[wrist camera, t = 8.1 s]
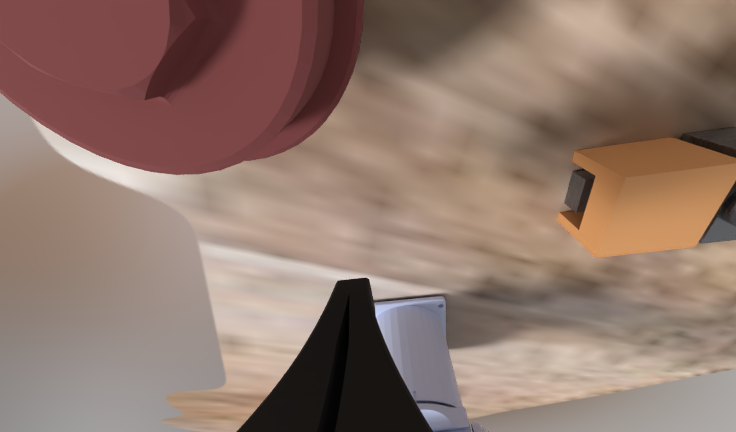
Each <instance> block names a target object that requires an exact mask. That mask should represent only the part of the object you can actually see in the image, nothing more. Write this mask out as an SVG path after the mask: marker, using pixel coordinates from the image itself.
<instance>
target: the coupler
mask: <svg viewBox="0 0 736 432" xmlns="http://www.w3.org/2000/svg"><path fill="white" fill-rule="evenodd" d="M681 140H682V141H685V142H688V143H691V144H694V145H697V146H700V147H703V148H706V149H710V150H713V151H716V152H719V153H722V154H725V155H728V156H731V157H734V158H736V127H729V128H722V129H715V130H708V131H700V132H693V133H686V134H683V137H682V139H681ZM595 177H596V176H595V175H593V174H592V173H590V172H588V171H587V170H580V171H573V172H572V176H571V180H570V184H569V188H568V191H567V195H566V199H565V204H566V205H567V206H569V207H570V208H571V209H572V210H573V211H574V212H576V213H579V212H585V209H586V206H587V203H588V199H589V196H590V193H591V190H592V187H593V183H594V180H595ZM730 240H736V181H735V183H734V184H733V186H732V188H731V189H730V191H729V193H728V194H727V196H726V197H725V199H724V201H723V202H722V204H721V206H720V207H719V209H718V211H717V212H716V214H715V215H714V217H713V219H712V220H711V222H710V224H709V225H708V227H707V229H706V230H705V232H704V234H703V235H702V237H701V238H700V240H699V243H711V242H720V241H730Z"/></svg>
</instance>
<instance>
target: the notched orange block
mask: <svg viewBox="0 0 736 432" xmlns="http://www.w3.org/2000/svg"><path fill="white" fill-rule="evenodd" d="M572 162H574V163H575V164H577V165H578V166H580V167H582V168H583V169H585V170H587V171H588V172H590V173H592V174H593V175H595V176H596V177H595V180H594V183H593V187H592V190H591V193H590V196H589V199H588V203H587V206H586V209H585V212H579V213H576V212H574V211H568V212H560V213H559V216H558V220H557V221H558V222H559V223H560V224H561V225H562V226H563V227H564V228H565V229H566V230H567V231H568V232H569V233H570V234H571V235H572V236H573V237H574V238H575V239H576V240H577V241H579V242H580V243H581V244H582V245H583V246H584V247H585V248H586V249H587V250H588V251H589V252H590V253H591V254H592V255H593V256H594V257H595V258H598V257H607V256H617V255H626V254H635V253H644V252H654V251H663V250H672V249H681V248H690V247H696V245H697V243H698V242H699V240H700V238H701V237H702V235H703V234H704V232H705V230H706V229H707V227H708V225H709V224H710V222H711V220H712V219H713V217H714V215H715V214H716V212H717V211H718V209H719V207H720V206H721V204H722V202H723V201H724V199H725V197H726V196H727V194H728V193H729V191H730V189H731V188H732V186H733V184H734V183H735V181H736V158H734V157H731V156H728V155H725V154H722V153H719V152H716V151H713V150H710V149H706V148H703V147H700V146H697V145H694V144H691V143H688V142H685V141H682V140H679V139H675V138H672V137H668V138H661V139H654V140H647V141H640V142H633V143H626V144H619V145H612V146H605V147H597V148H590V149H583V150H576V151H575V153H574V157H573V161H572Z"/></svg>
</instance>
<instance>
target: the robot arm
mask: <svg viewBox="0 0 736 432" xmlns="http://www.w3.org/2000/svg"><path fill="white" fill-rule="evenodd" d="M440 304H441V305H440ZM471 426H472V431H473V432H489V431H487V430H486V429H485V428H484V427H483V426H481V424H480V423H479V422H471ZM237 432H471V429H470V425H469V422H468V418H467V414H466V410H465V408H464V407H463V405H462V401H461V397H460V394H459V390H458V386H457V382H456V378H455V374H454V370H453V366H452V362H451V358H450V354H449V350H448V346H447V342H446V300H445V298H444V297H442V296H436V297H426V298H416V299H406V300H395V301H385V302H375V303H374V301H373V296H372V291H371V286H370V282H369V279H367V278H359V279H349V280H340V281H338V282H337V283H336V285H335V287H334V290H333V292H332V294H331V297H330V299H329V301H328V303H327V305H326V307H325V309H324V311H323V313H322V315H321V317H320V319H319V321H318V323H317V324H316V326H315V328H314V330H313V331H312V333H311V335H310V337H309V338H308V340H307V342H306V343H305V345H304V347H303V348H302V350H301V351H300V353H299V354H298V356H297V357H296V359H295V360H294V362H293V363H292V365H291V366H290V368H289V369H288V370H287V372H286V373H285V374H284V376H283V377H282V378H281V380H280V381H279V382H278V384H277V385H276V386H275V388H274V389H273V390H272V392H271V393H270V394H269V395H268V396H267V398H266V399H265V400H264V401H263V402H262V403H261V405H260V406H259V407H258V408H257V409H256V410H255V412H254V413H253V414H252V415H251V416H250V417H249V419H248V420H247V421H246V422H245V423H244V424H243V425H242V426H241V428H240V429H239V430H238V431H237Z"/></svg>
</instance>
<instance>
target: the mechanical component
mask: <svg viewBox="0 0 736 432" xmlns="http://www.w3.org/2000/svg"><path fill="white" fill-rule="evenodd" d="M363 7H364V0H0V93H1V94H3V95H4V96H5V97H6V98H7V99H8V100H9V101H11V102H12V103H13V104H15V105H16V106H17V107H19V108H20V109H21V110H23V111H24V112H25V113H27V114H28V115H30V116H31V117H32V118H34V119H35V120H36V121H38V122H39V123H41V124H42V125H44V126H45V127H47V128H49V129H50V130H52V131H53V132H55V133H57V134H58V135H60V136H62V137H63V138H65V139H67V140H68V141H70V142H72V143H74V144H76V145H78V146H80V147H82V148H84V149H86V150H88V151H90V152H92V153H94V154H96V155H99V156H101V157H104V158H107V159H109V160H112V161H115V162H117V163H120V164H123V165H126V166H130V167H134V168H138V169H142V170H146V171H150V172H157V173H166V174H174V175H181V174H202V173H207V172H213V171H218V170H222V169H225V168H227V167H230V166H233V165H236V164H238V163H241V162H243V161H250V160H256V159H262V158H267V157H270V156H273V155H276V154H279V153H282V152H285V151H286V150H288V149H290V148H292V147H294V146H296V145H298V144H300V143H301V142H302V141H304V140H305V139H306V138H308V137H309V136H310V135H312V134H313V133H314V132H315V131H316V130H317V129H318V128H319V127H320V126H321V125H322V124H323V123H324V122H325V121H326V120H327V118H328V117H329V115H330V114H331V113H332V111H333V110H334V108H335V107H336V106H337V104H338V103H339V101H340V99H341V97H342V95H343V93H344V91H345V89H346V87H347V85H348V83H349V80H350V78H351V76H352V73H353V70H354V67H355V63H356V60H357V56H358V53H359V48H360V42H361V35H362V29H363Z"/></svg>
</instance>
